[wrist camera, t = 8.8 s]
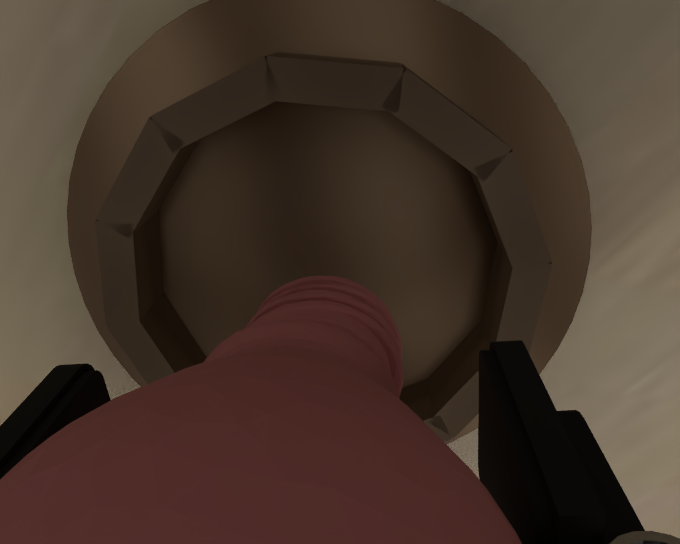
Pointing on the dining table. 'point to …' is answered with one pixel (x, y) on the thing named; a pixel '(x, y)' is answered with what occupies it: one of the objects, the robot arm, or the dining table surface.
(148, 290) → the holder
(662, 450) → the dining table surface
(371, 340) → the light bulb
